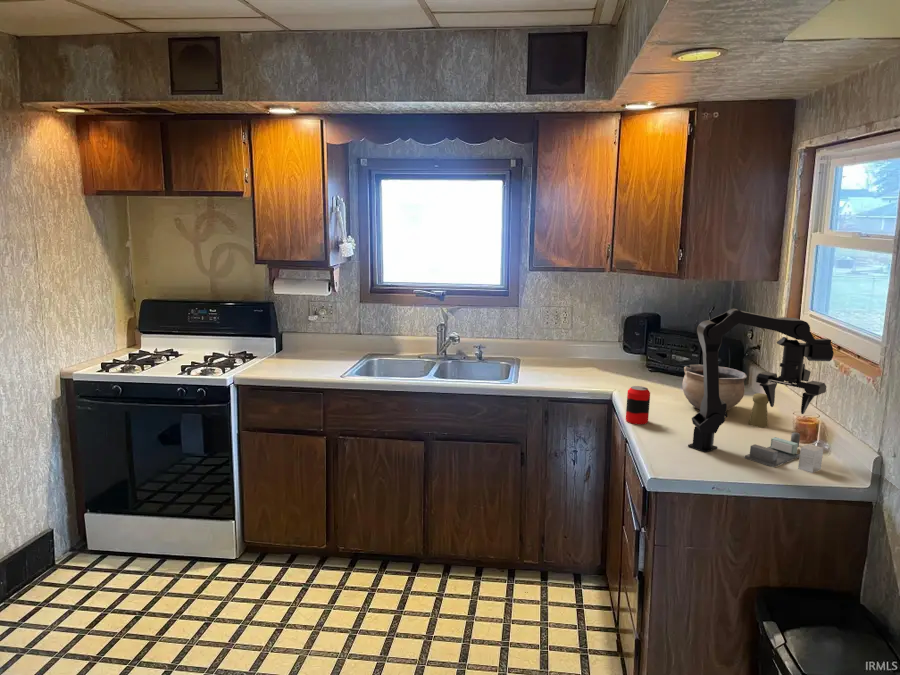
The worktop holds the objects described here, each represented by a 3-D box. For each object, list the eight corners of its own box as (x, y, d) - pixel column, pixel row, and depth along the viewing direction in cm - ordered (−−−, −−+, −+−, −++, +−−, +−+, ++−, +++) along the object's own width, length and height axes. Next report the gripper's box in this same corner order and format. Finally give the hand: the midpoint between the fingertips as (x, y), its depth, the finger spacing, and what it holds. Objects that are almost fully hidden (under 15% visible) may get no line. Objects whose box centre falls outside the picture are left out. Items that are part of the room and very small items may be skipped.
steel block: (812, 473, 193) (815, 451, 192) (798, 468, 196) (800, 447, 195) (820, 469, 196) (823, 447, 195) (806, 465, 199) (809, 444, 198)
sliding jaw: (792, 454, 205) (794, 441, 204) (769, 447, 210) (771, 435, 209) (807, 448, 210) (809, 435, 209) (785, 442, 216) (786, 429, 215)
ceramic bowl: (680, 398, 268) (683, 361, 265) (739, 404, 262) (743, 366, 259) (680, 414, 247) (684, 374, 244) (745, 421, 241) (750, 379, 238)
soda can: (647, 425, 233) (650, 391, 231) (625, 423, 235) (627, 389, 233) (648, 419, 240) (650, 386, 238) (626, 417, 242) (628, 384, 240)
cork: (751, 420, 241) (754, 390, 239) (769, 424, 237) (773, 393, 235) (746, 424, 237) (749, 394, 234) (764, 428, 233) (768, 397, 231)
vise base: (774, 467, 197) (775, 454, 196) (744, 458, 204) (746, 445, 203) (799, 457, 206) (801, 444, 205) (770, 448, 213) (772, 436, 212)
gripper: (837, 362, 203) (830, 413, 206) (774, 351, 217) (769, 399, 220) (820, 367, 196) (814, 419, 199) (757, 356, 210) (752, 404, 213)
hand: (787, 410), depth 208 cm, fingers open, 9 cm apart
